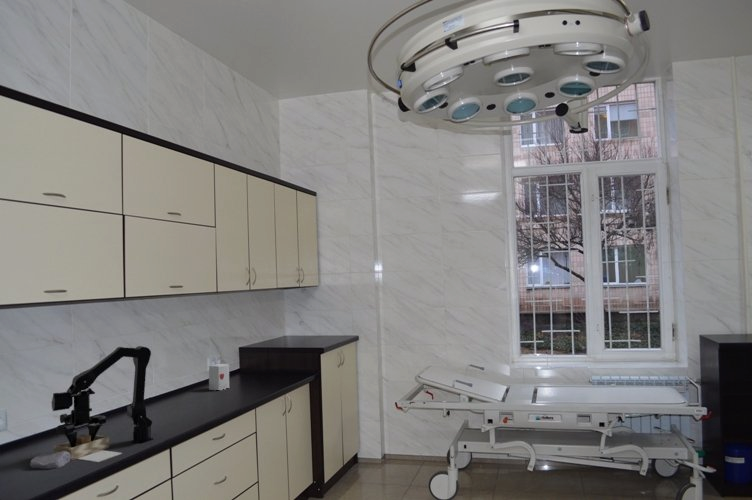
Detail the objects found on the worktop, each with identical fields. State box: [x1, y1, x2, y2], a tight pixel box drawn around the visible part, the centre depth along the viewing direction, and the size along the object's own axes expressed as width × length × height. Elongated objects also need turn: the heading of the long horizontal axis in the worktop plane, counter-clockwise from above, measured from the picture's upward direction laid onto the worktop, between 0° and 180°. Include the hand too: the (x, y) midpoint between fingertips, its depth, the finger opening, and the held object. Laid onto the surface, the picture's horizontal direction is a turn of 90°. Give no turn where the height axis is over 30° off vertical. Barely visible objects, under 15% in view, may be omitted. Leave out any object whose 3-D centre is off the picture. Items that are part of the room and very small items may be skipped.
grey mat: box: [77, 450, 123, 463], centre depth 222 cm, size 11×11×1 cm
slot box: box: [53, 434, 110, 462], centre depth 228 cm, size 17×10×4 cm, turn 155°
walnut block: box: [75, 434, 91, 447], centre depth 228 cm, size 4×5×4 cm
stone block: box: [29, 451, 71, 470], centre depth 214 cm, size 12×5×10 cm
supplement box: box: [208, 363, 230, 391], centre depth 355 cm, size 9×9×15 cm
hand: (82, 446), depth 228 cm, fingers open, 7 cm apart
